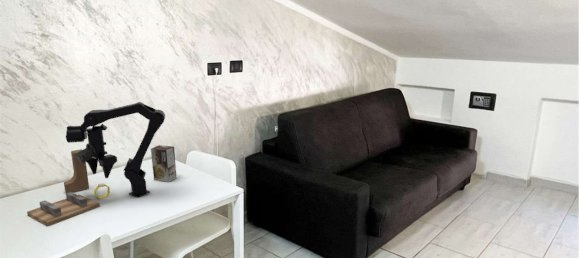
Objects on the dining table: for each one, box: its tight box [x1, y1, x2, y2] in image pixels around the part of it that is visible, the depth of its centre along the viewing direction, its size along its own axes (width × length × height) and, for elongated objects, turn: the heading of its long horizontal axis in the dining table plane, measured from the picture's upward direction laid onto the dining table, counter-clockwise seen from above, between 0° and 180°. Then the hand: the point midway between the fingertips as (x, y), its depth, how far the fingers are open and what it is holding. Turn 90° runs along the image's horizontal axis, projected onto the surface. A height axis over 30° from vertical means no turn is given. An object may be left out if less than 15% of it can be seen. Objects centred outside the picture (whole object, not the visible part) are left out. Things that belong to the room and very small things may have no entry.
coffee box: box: [150, 144, 177, 183], centre depth 183 cm, size 9×6×16 cm
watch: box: [93, 182, 111, 199], centre depth 163 cm, size 6×3×6 cm, turn 138°
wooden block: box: [63, 148, 90, 194], centre depth 169 cm, size 9×4×18 cm, turn 133°
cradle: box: [26, 192, 101, 227], centre depth 151 cm, size 16×20×4 cm
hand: (100, 176), depth 162 cm, fingers open, 9 cm apart
